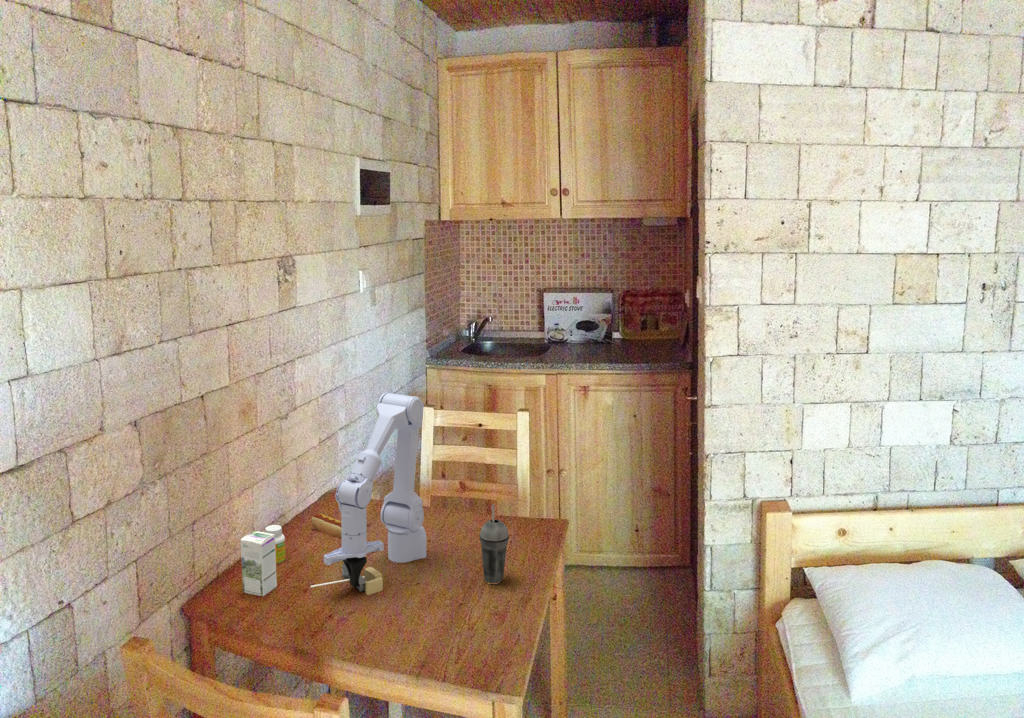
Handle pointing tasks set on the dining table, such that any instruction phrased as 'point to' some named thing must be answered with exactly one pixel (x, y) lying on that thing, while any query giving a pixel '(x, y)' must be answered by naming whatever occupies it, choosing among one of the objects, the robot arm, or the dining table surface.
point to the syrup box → (258, 563)
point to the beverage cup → (493, 549)
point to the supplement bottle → (278, 542)
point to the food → (327, 525)
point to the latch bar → (361, 580)
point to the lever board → (372, 578)
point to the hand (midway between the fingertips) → (354, 585)
